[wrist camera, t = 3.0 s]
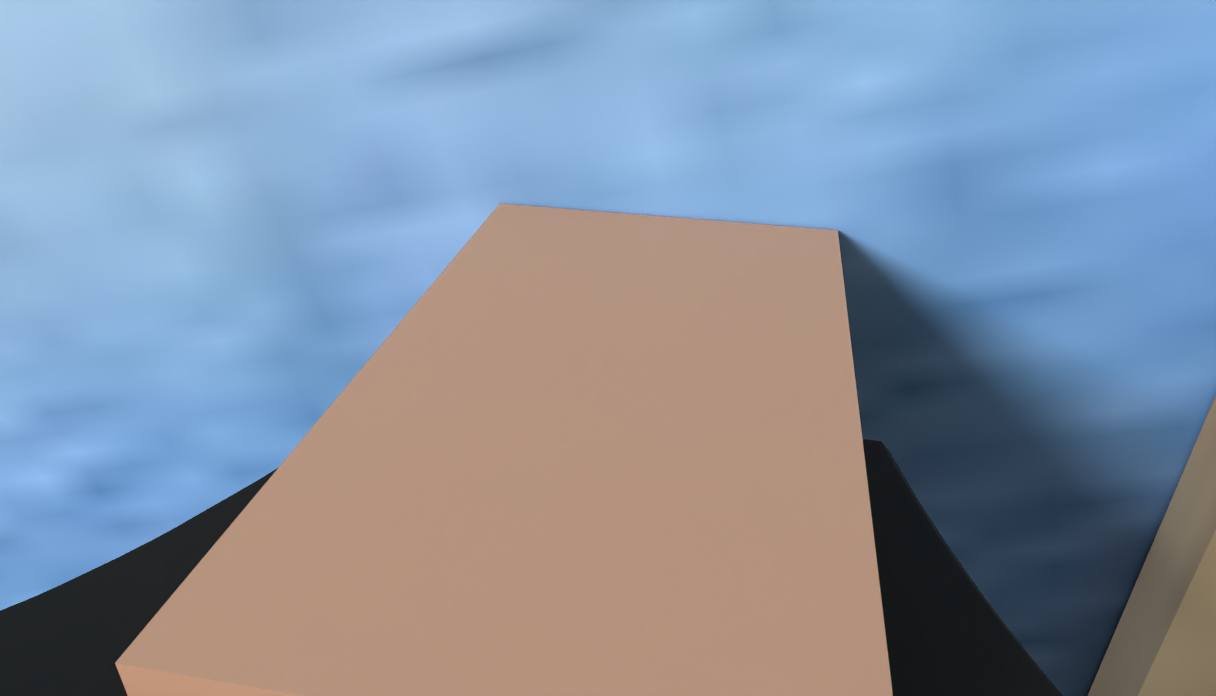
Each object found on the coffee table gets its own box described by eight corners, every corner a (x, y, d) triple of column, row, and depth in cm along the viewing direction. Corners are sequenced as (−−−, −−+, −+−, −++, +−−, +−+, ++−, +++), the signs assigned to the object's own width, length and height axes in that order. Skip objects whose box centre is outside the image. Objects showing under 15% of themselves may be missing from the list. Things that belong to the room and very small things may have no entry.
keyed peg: (786, 557, 12) (781, 1213, 6) (516, 521, 13) (280, 1088, 7) (837, 230, 10) (905, 799, 4) (499, 203, 11) (115, 663, 5)
